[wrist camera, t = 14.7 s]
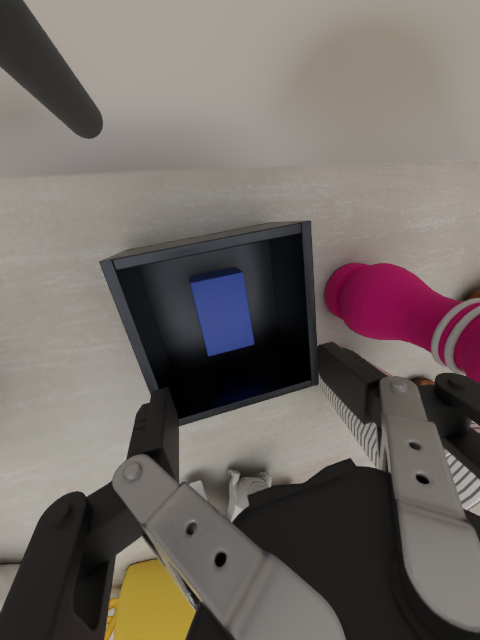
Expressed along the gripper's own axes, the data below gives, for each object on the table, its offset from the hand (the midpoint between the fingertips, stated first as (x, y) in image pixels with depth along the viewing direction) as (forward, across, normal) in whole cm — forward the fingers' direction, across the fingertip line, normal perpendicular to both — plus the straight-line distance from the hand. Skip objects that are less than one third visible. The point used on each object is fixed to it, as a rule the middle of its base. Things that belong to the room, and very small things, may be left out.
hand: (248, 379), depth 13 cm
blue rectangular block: (+12, 0, 0) cm, 13 cm away
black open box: (+13, 0, 0) cm, 13 cm away
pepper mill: (+13, -15, +2) cm, 20 cm away
